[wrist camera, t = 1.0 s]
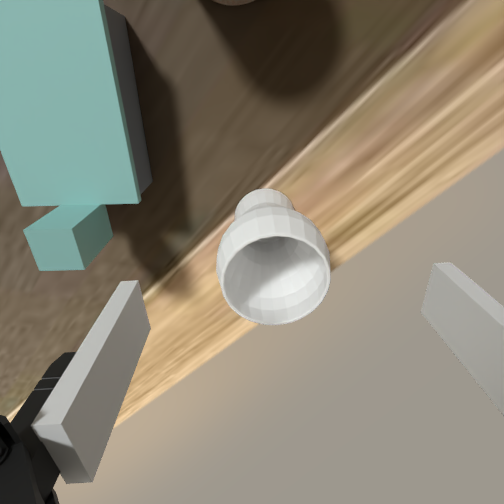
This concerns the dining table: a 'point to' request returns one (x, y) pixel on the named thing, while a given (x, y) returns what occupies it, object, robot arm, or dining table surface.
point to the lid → (64, 126)
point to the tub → (129, 95)
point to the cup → (272, 261)
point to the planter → (233, 2)
